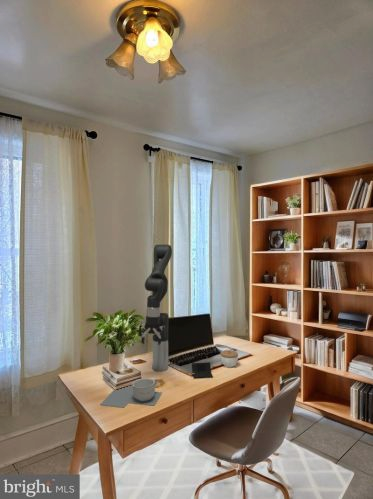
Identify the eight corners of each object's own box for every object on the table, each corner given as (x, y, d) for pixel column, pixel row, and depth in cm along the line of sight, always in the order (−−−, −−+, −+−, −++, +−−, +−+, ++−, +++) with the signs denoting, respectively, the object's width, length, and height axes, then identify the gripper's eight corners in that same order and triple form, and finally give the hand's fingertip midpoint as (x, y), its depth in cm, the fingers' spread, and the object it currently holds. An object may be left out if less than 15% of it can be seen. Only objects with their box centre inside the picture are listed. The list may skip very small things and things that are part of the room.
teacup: (139, 406, 145) (138, 389, 145) (128, 397, 154) (128, 380, 154) (164, 397, 154) (164, 381, 153) (153, 389, 162) (153, 373, 162)
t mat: (119, 384, 169) (119, 383, 169) (164, 388, 163) (164, 388, 163) (99, 404, 147) (99, 404, 147) (151, 411, 142) (151, 410, 142)
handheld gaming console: (195, 377, 173) (194, 359, 179) (191, 381, 179) (190, 363, 185) (214, 378, 176) (213, 360, 182) (210, 381, 182) (208, 364, 188)
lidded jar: (216, 364, 195) (216, 349, 195) (229, 360, 201) (229, 346, 201) (229, 370, 186) (229, 354, 186) (241, 366, 193) (241, 350, 193)
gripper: (166, 314, 176) (164, 342, 177) (140, 312, 176) (139, 341, 177) (165, 317, 169) (163, 347, 169) (138, 315, 169) (137, 345, 169)
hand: (151, 344), depth 173 cm, fingers open, 8 cm apart
